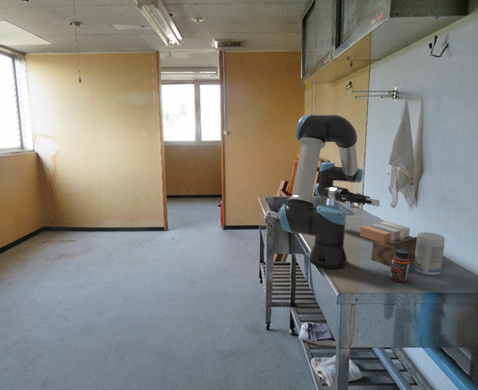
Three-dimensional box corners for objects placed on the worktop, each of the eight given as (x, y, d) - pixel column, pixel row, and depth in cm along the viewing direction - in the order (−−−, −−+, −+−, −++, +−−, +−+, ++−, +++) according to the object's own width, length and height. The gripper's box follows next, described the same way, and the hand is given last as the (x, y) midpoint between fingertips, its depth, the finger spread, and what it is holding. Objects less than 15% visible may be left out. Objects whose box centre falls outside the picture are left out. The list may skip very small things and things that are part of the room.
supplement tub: (440, 269, 139) (445, 234, 136) (440, 278, 130) (446, 241, 127) (413, 264, 143) (417, 230, 140) (412, 272, 135) (417, 236, 132)
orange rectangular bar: (359, 235, 153) (360, 226, 152) (365, 234, 155) (366, 225, 154) (383, 243, 143) (384, 234, 142) (389, 241, 145) (390, 232, 144)
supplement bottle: (388, 280, 128) (391, 251, 125) (391, 274, 133) (394, 246, 130) (406, 284, 125) (410, 255, 122) (408, 278, 130) (411, 250, 127)
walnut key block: (371, 259, 147) (373, 236, 145) (400, 250, 159) (402, 228, 156) (393, 268, 139) (396, 243, 137) (422, 258, 150) (425, 235, 148)
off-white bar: (379, 230, 160) (380, 222, 160) (384, 229, 163) (385, 221, 162) (403, 238, 151) (404, 229, 150) (408, 236, 153) (409, 228, 152)
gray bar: (369, 233, 157) (370, 224, 156) (375, 231, 159) (376, 223, 158) (394, 240, 147) (395, 231, 146) (399, 239, 149) (400, 230, 148)
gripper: (347, 199, 186) (386, 209, 167) (330, 202, 179) (368, 213, 160) (348, 186, 184) (387, 194, 165) (331, 188, 177) (370, 197, 158)
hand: (378, 203), depth 162 cm, fingers closed
